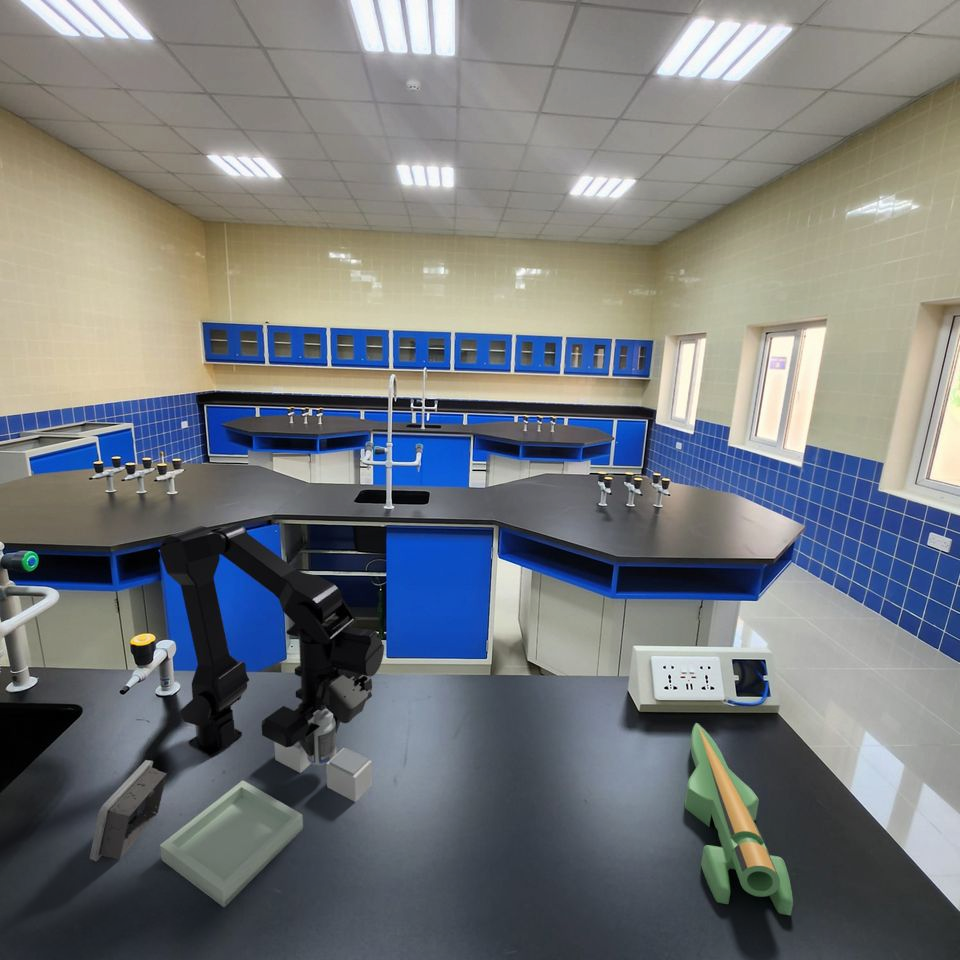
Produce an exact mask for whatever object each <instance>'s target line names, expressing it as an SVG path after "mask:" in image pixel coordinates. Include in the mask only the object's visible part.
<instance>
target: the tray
mask: <svg viewBox="0 0 960 960" xmlns="http://www.w3.org/2000/svg"><path fill="white" fill-rule="evenodd" d="M303 830H304V820H303V814H302V813H300V812H298V811H297V810H295V809H293V808H292V807H290V806H288V805H287V804H285V803H283V802H281V801H280V800H277V799H276V798H274V797H272V796H271V795H269V794H267V793H266V792H264V791H262V790H261V789H259V788H257V787H255V786H254V785H252V784H251V783H248V782H246V781H245V780H240V782H239V783H237V784H236V785H234V786H233V787H232V788H230V790H228V791H227V792H226V793H225V794H223V795H222V796H221V797H219V798H218V799H216V801H214V802H213V803H212V804H211V805H209V806H208V807H206V808H205V809H204V810H203V811H202V812H200V813H199V814H197V815H196V816H195V817H194V818H193V819H191V820H190V821H189V822H187V824H185V825H183V826H182V827H181V828H180V829H178V830H177V831H176V832H175V833H174V834H172V835H171V836H170V837H168V838H167V839H166V840H165V841H163V842H162V843H161V844H160V845H159V847H160V848H159V849H160V857H161V861H162V862H164V863H165V864H167V866H169V867H170V868H171V869H173V870H174V871H175V872H177V873H178V874H179V875H180V876H182V877H183V878H184V879H186V880H187V881H188V882H190V883H191V884H193V885H194V886H195V887H197V888H198V889H199V890H201V892H203V893H204V894H205V895H207V896H209V898H211V899H212V900H214V902H216V903H217V904H219V905H220V906H221V907H223V908H226V907H227V906H228V904H230V902H232V900H234V898H236V897H237V896H238V895H239V894H240V893H241V891H242V890H243V889H245V887H247V886H248V885H249V883H250V882H252V881H253V879H255V878H256V876H257V875H259V873H261V872H262V870H263V869H265V868H266V866H268V864H270V863H271V861H273V859H275V857H277V856H278V855H279V854H280V853H281V852H282V851H283V849H285V848H286V846H287V845H288V844H289V843H291V841H292V840H294V839H295V837H297V836H298V835H299V834H300V833H301V832H302V831H303Z"/></svg>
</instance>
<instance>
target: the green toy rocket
mask: <svg viewBox="0 0 960 960" xmlns="http://www.w3.org/2000/svg"><path fill="white" fill-rule="evenodd" d="M690 749H691V750H690V751H691V756H692V760H693V763H694V765H695V768H694V771H693V772H692V773H691V775H690V777H689V778H688V781H687V785H686V793H685V801H684V807H685V810H686V811H688V812H690V813H691V814H692V815H693V816H694V817H696V818H697V819H698V820H699V821H701V822H702V823H703V824H704V825H706V826H708V827H710V826H711V825H710V824H711V818H712V820H713V823H714V826H715V829H716V830H717V833H718V839H719V842H720V844H721V846H716V845H709V844H707V845H705V846H703V850H702V857H701V863H700V866H701V869H702V872H703V875H704V878H705V880H706V883H707V886H708V887H709V889H710V892H711V893H712V896H713V898H714V900H715V901H716V903H718V904H724V905H729V903H730V896H731V885H730V877H729V870H735V871H736V875H737V878H738V880H739V883H740V885H741V887H742V889H743V890H744V891H745V892H746V893H748V894H749V895H752V896H754V897H760V898H761V897H770V899H771V902H772V904H773V906H774V907H775V910H776V911H777V912H778V914H780V915H787V916H792V910H793V906H794V900H793V899H794V898H793V891H792V886H791V881H790V876H789V872H788V868H787V866H786V863H785V861H784V859H783V858H782V857H780V856H777V855H771V854H770V853H769V850H768V848H767V846H766V845H765V842H764V840H763V839H764V838H762V837H763V836H762V835H761V833H760V831H759V829H758V827H757V825H756V823H755V821H756V820H757V819H756V818H757V815H758V808H759V802H760V800H759V798H758V796H757V795H756V794H755V792H754V790H752V788H750V786H749V785H748V784H746V783H745V782H744V781H742V780H741V778H739V777H738V775H736V774H735V773H734V772H733V771H732V770H731V769H730V768H729V767H728V764H727V762H726V760H725V758H724V755H723V753H722V752H721V750H720V748H719V747H718V745H717V743H716V742H715V741H714V738H712V736H711V735H710V734H709V733H708V732H707V731H706V729H705V728H704V727H702V726H701V724H700V723H697V722H695V724H694V725H693V727H692V730H691V737H690Z"/></svg>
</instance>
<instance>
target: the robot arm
mask: <svg viewBox="0 0 960 960" xmlns="http://www.w3.org/2000/svg"><path fill="white" fill-rule="evenodd" d="M163 539H164V540H163V541H162V543H161V544H160V545H159V554H160V555H159V556H160V558H161V561H162V563H163V567H164V569H165V572H166V574H167V575H168V576H169V577H170V578H171V579H173V580H174V581H175V582H176V583H177V584H178V585H180V588H181V593H182V597H183V603H184V608H185V611H186V615H187V621H188V624H189V625H188V626H189V630H190V634H191V639H192V643H193V649H194V652H195V656H196V661H197V666H196V669H195V672H194V675H193V678H192V680H191V695H192V699H191V700H190V701H189V702H188V703H187V704H186V705H185V706H184V707H182V708H181V709H180V715H181V717H182V720H183V722H185V723H187V724H191V725H194V726H195V733H196V735H195V737H193V738H191V739H189V740H188V745H189V746H190V747H192V748H194V749H196V750H197V751H200V753H203V754H204V755H206V756H208V757H209V758H210V757H213V756H215V755H217V754H218V753H219V752H221V751H222V750H224V749H225V748H227V747H228V746H230V745H231V744H233V743H234V742H235V741H237V740H238V739H240V738H241V737H242V736H243V731H241V730H240V729H239V730H238V729H236V727H235V720H234V712H233V709H232V705H234V704H235V703H236V702H239V701H240V700H241V698H242V696H243V694H244V693H245V692H246V691H247V690H248V682H250V678H249V676H248V674H247V669H246V668H247V666H246V665H247V664H246V663H245V661H243V660H242V661H238V660H237V659H236V658H235V657H233V656H232V655H231V653H230V650H229V646H228V640H227V636H226V631H225V627H224V622H223V616H222V612H221V606H220V603H219V597H218V593H217V588H216V583H215V574H216V571H217V568H218V567H219V566H218V565H219V563H220V560H221V559H220V558H221V556H223V557H224V558H225V559H227V560H228V561H229V562H230V563H232V564H233V565H235V566H236V567H238V568H239V569H240V570H241V571H243V573H245V574H246V575H248V576H249V577H250V578H252V579H253V580H254V581H255V582H257V583H258V584H260V585H261V586H262V587H264V588H265V589H266V590H268V591H269V592H270V593H271V594H273V595H274V596H275V597H276V598H277V599H278V600H279V603H280V606H281V610H282V612H283V613H284V614H285V616H287V617H288V618H289V619H290V620H291V621H292V623H294V624H293V625H292V626H291V627H290V628H288V629H287V630H286V634H287V635H288V636H293V637H298V647H299V665H298V666H297V667H295V668H294V675H296V676H298V677H299V678H300V688H298V689H297V690H296V691H295V698H297V699H299V700H301V702H300V703H299V704H298V705H297V706H298V707H297V708H296V709H291V708H290V707H287V706H286V705H283V706H281V707H280V708H278V709H277V710H275V711H274V712H273V713H271V714H270V715H268V716H267V717H265V718H264V719H263V720H262V721H261V736H263V737H264V738H267V739H269V740H271V741H272V742H273V743H274V742H276V743H278V744H280V745H282V746H284V747H292V746H293V745H294V744H296V743H297V742H298V741H299V743H300V744H301V746H302V747H303V749H304V751H305V752H306V754H307V755H309V756H312V755H313V753H314V731H315V730H317V729H318V728H319V727H320V726H319V725H317V724H315V723H314V722H313V718H314V714H315V713H317V712H318V711H319V710H320V711H322V710H323V709H325V706H326V708H327V709H328V710H329V711H330V712H331V713H332V714H333V718H334V719H335V722H336V734H337V733H338V730H339V726H340V723H342V724H349V723H350V722H351V721H352V720H353V719H354V718H355V717H357V715H359V714H360V713H361V712H363V711H364V707H365V706H366V702H368V701H369V699H370V698H372V697H373V694H372V690H373V680H372V677H373V676H375V675H376V674H377V672H378V671H379V669H380V667H381V664H382V662H383V659H384V653H385V652H384V651H385V645H384V644H383V641H382V639H381V638H380V637H378V634H377V633H378V632H377V631H376V630H374V629H363V628H358V627H353V626H352V625H353V624H354V623H356V622H357V618H356V616H355V615H354V613H353V611H352V610H351V608H350V607H349V605H348V604H347V603H346V600H345V599H344V598H343V597H342V593H341V590H340V589H339V588H338V587H337V586H336V584H334V583H333V582H331V581H329V580H327V579H325V578H323V577H321V576H319V575H317V574H311V573H305V572H302V571H300V570H298V569H297V568H295V567H293V565H291V564H290V563H288V562H287V561H286V560H285V559H283V558H281V557H280V556H279V555H277V554H276V553H275V552H273V551H272V550H271V549H269V548H268V547H266V546H265V545H264V544H262V542H260V541H258V540H257V539H256V538H254V537H253V536H252V535H250V534H249V533H248V531H247V529H246V528H245V527H244V526H243V525H240V524H231V525H228V526H221V527H217V528H211V529H210V528H209V527H206V526H203V525H200V526H197V527H193V528H190V529H188V530H183V531H182V532H178V533H176V534H175V533H174V534H172V535H170V536H167V537H165V538H163ZM220 555H221V556H220ZM334 616H337V618H335V620H333V621H332V622H331V623H330V624H328V623H326V622H327V621H328V620H330V619H331V618H332V617H334Z"/></svg>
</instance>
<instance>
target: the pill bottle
mask: <svg viewBox="0 0 960 960" xmlns="http://www.w3.org/2000/svg"><path fill="white" fill-rule="evenodd" d="M313 722H314V723H315V724H317V725H319V726H320V727H319V728H318V729H317V730H315V731H314V753H313V755H312V756H309V755H307V759H308V761H309V762H310V763H311V764H310V765H313V766H324V765H326V763H327V762H328V761H330V760H331V759H332V758H333V757H334V756H335V755H336V754H337V733H336V722H335V719H334V718H333V714H332V713H331V712H330V711H329V710H328V709H327V708H326V706H325V709H323V710H322V711H320V710H319V711H318V712H317V713H315V714H314V718H313Z"/></svg>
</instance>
